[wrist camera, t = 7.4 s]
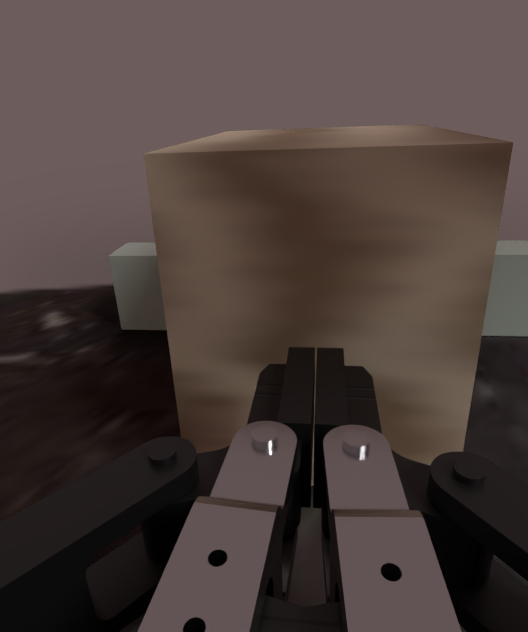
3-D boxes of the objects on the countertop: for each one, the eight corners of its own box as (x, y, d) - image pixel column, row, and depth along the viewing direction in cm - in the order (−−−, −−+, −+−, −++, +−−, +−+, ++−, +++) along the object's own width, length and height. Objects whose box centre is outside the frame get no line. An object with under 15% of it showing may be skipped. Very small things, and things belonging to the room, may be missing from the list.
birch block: (402, 336, 29) (421, 124, 24) (455, 494, 17) (513, 142, 12) (240, 333, 30) (227, 131, 25) (186, 479, 18) (143, 153, 14)
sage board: (524, 316, 31) (539, 238, 29) (543, 336, 28) (562, 252, 26) (137, 311, 34) (126, 240, 32) (121, 329, 31) (108, 253, 29)
